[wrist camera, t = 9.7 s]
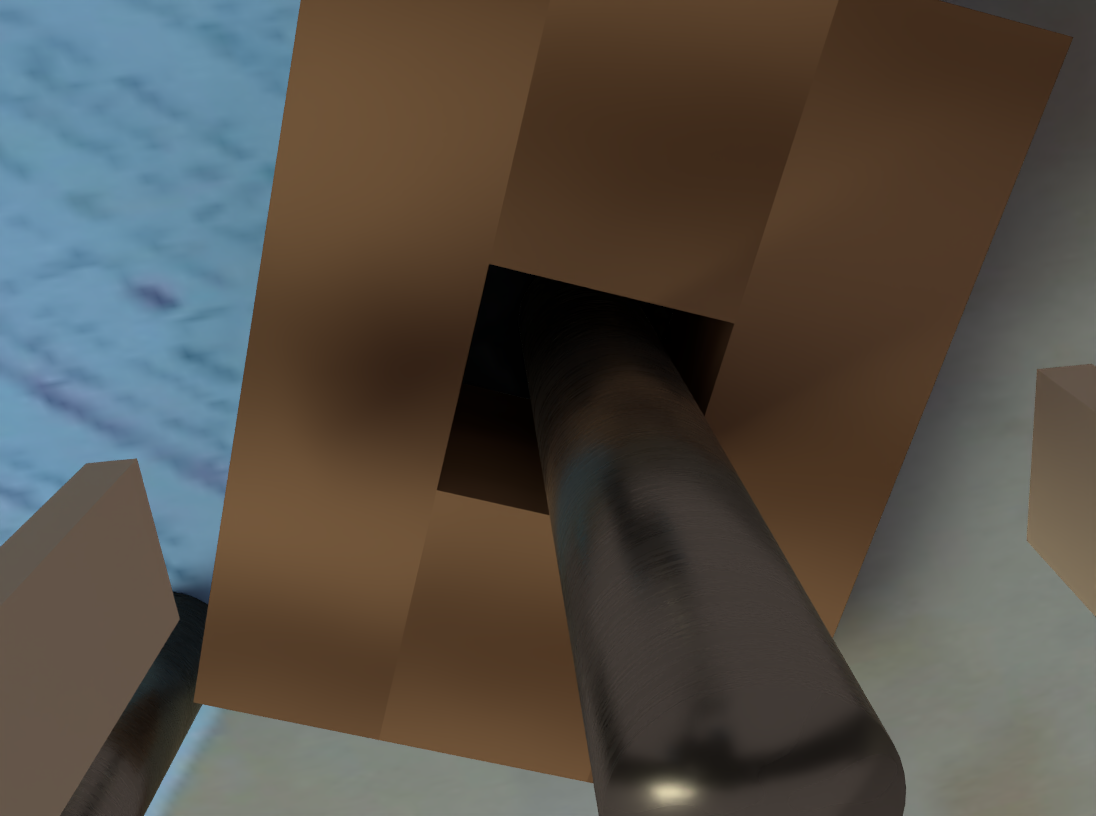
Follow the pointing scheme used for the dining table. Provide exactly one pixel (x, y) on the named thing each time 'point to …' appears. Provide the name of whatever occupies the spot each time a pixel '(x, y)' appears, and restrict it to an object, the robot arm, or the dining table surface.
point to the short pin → (147, 726)
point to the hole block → (598, 263)
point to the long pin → (683, 593)
